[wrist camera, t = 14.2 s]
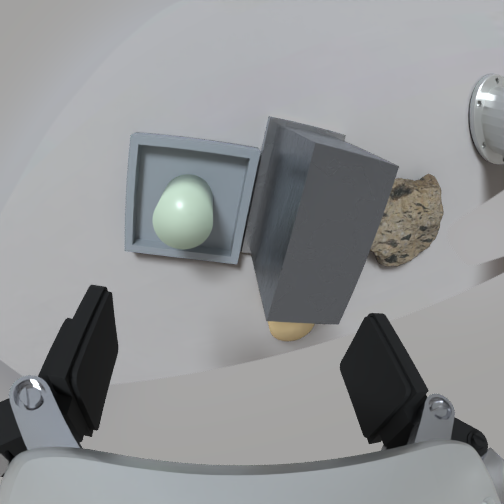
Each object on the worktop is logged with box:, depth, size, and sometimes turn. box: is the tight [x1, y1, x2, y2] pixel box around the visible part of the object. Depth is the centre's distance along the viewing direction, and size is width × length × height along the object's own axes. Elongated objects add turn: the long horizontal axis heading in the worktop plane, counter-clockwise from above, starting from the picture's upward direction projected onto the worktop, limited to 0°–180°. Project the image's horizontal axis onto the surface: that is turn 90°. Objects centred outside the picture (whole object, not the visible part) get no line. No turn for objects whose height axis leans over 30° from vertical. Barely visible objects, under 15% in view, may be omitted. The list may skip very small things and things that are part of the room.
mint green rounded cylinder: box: [153, 174, 213, 249], centre depth 26 cm, size 5×5×6 cm
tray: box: [125, 132, 261, 264], centre depth 29 cm, size 12×12×2 cm
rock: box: [370, 174, 443, 267], centre depth 32 cm, size 11×11×4 cm
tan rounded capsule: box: [268, 321, 314, 341], centre depth 34 cm, size 5×5×6 cm
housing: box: [241, 116, 399, 324], centre depth 25 cm, size 8×14×12 cm, turn 169°
